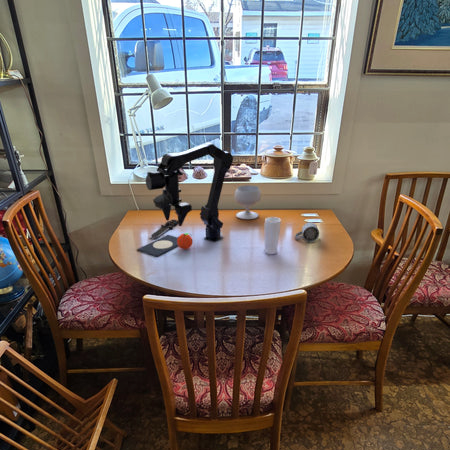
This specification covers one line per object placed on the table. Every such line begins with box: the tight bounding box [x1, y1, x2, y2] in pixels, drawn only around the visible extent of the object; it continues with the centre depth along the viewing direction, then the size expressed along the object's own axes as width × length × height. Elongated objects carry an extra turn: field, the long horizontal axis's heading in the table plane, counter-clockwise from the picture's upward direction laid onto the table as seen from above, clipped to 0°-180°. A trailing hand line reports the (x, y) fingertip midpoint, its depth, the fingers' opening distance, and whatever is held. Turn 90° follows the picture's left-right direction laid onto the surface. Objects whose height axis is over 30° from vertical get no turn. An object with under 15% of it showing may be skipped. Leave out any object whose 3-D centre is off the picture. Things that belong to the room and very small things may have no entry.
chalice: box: [234, 185, 262, 220], centre depth 197 cm, size 14×14×15 cm
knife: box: [150, 219, 179, 240], centre depth 184 cm, size 25×6×1 cm, turn 154°
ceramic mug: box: [294, 222, 320, 243], centre depth 173 cm, size 11×8×8 cm
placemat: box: [137, 234, 179, 258], centre depth 169 cm, size 12×20×1 cm, turn 145°
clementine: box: [177, 232, 194, 250], centre depth 165 cm, size 8×7×7 cm
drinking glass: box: [263, 216, 282, 255], centre depth 159 cm, size 7×7×15 cm
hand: (173, 223), depth 160 cm, fingers open, 9 cm apart
